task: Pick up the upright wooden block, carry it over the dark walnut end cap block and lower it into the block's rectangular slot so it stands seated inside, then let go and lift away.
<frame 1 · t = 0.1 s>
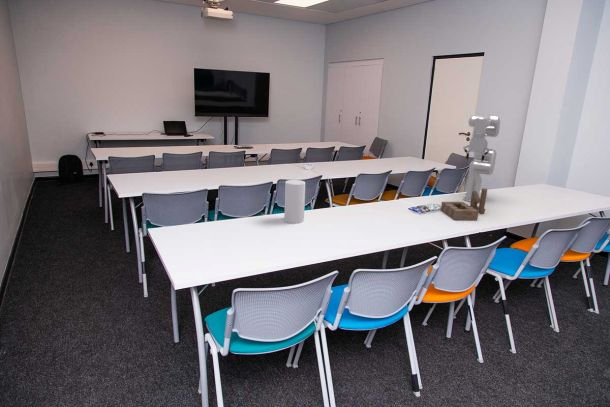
hand: (474, 160, 280), 37 cm above the table, tool pointing down, fingers open, 9 cm apart
end cap block: (458, 215, 279), on the table
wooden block: (476, 212, 289), on the table
cylinder: (294, 220, 255), on the table
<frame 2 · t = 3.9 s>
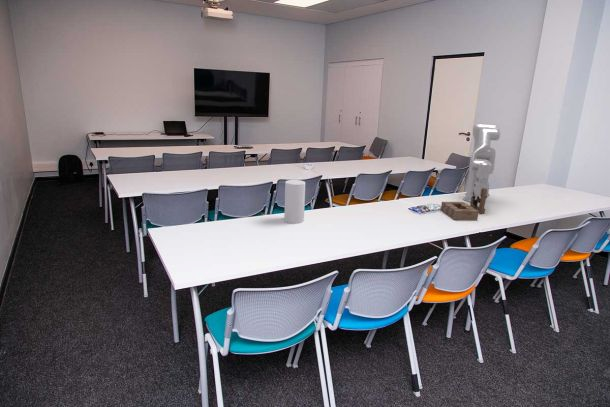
hand: (478, 204, 287), 5 cm above the table, tool pointing down, fingers closed on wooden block, 4 cm apart
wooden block: (476, 212, 288), on the table, touching gripper
everything else where it was.
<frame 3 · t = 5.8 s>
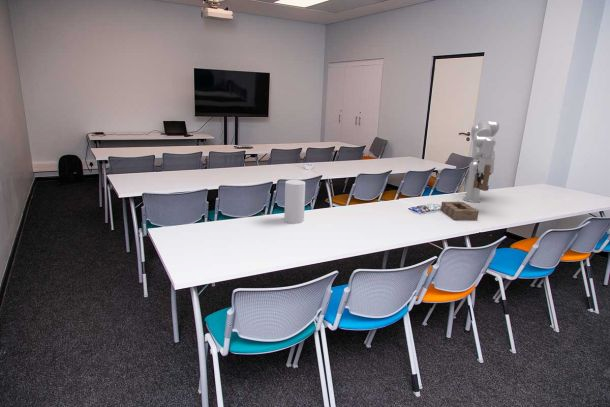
hand: (481, 181, 283), 22 cm above the table, tool pointing down, fingers closed on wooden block, 4 cm apart
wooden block: (480, 189, 284), point 17 cm above the table, touching gripper
everything else where it was.
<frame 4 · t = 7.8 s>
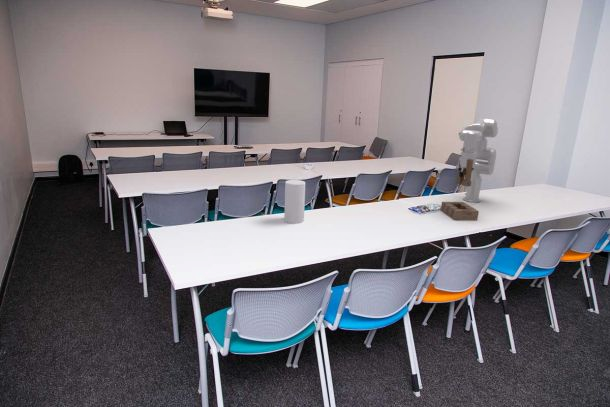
hand: (464, 177, 271), 27 cm above the table, tool pointing down, fingers closed on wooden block, 4 cm apart
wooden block: (463, 185, 273), point 22 cm above the table, touching gripper
everything else where it was.
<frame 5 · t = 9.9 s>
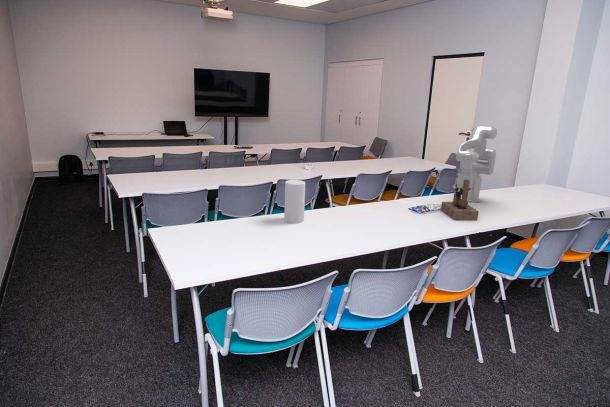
hand: (461, 197, 275), 13 cm above the table, tool pointing down, fingers closed on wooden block, 4 cm apart
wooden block: (459, 204, 277), point 8 cm above the table, touching gripper
everything else where it was.
when the fingers open (8 cm above the table, at t = 11.6 s): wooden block drops 1 cm, resting on end cap block.
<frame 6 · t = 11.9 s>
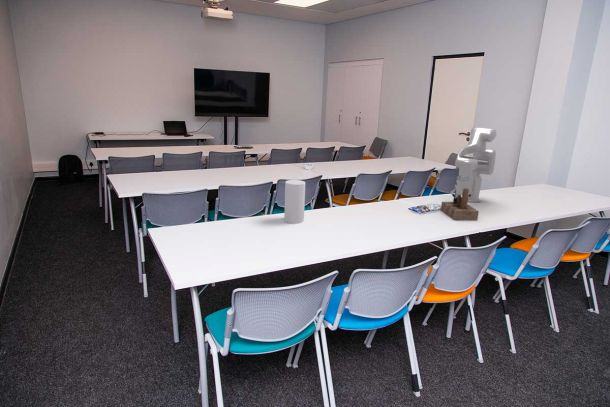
hand: (460, 203, 276), 9 cm above the table, tool pointing down, fingers open, 7 cm apart
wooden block: (458, 213, 279), point 1 cm above the table, touching end cap block
everything else where it was.
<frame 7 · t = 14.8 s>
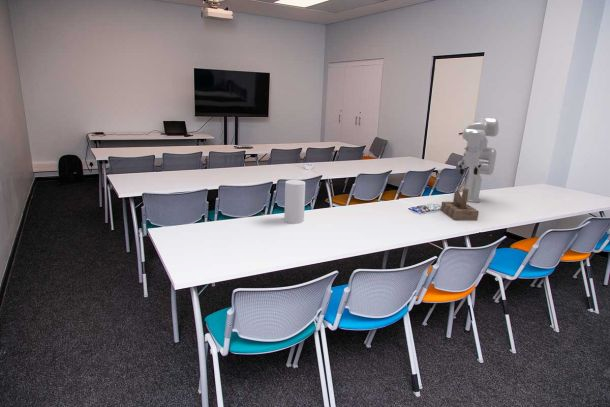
hand: (468, 174, 273), 29 cm above the table, tool pointing down, fingers open, 9 cm apart
nothing on the table moved.
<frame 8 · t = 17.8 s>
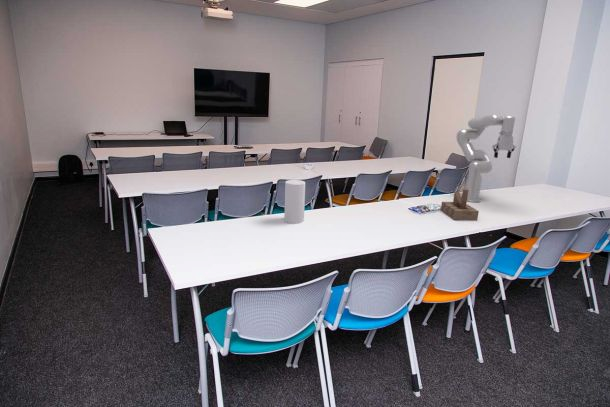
hand: (502, 157, 287), 38 cm above the table, tool pointing down, fingers open, 9 cm apart
nothing on the table moved.
at the end: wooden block 0.4 cm off-centre on the end cap block, point 1.3 cm above the end cap block's base; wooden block tilted 0°; the gripper is holding nothing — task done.
